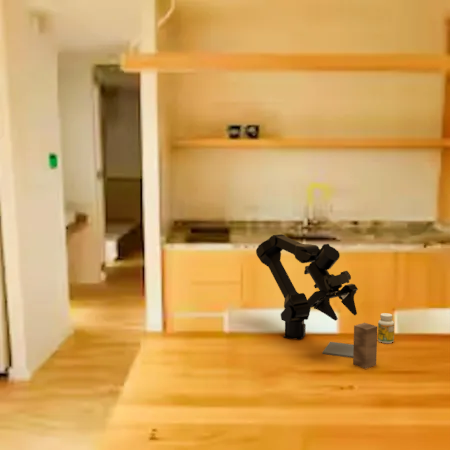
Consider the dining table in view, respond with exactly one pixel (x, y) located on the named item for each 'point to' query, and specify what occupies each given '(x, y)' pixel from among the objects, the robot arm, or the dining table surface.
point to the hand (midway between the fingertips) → (346, 317)
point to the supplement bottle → (386, 328)
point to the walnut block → (365, 345)
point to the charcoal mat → (339, 349)
